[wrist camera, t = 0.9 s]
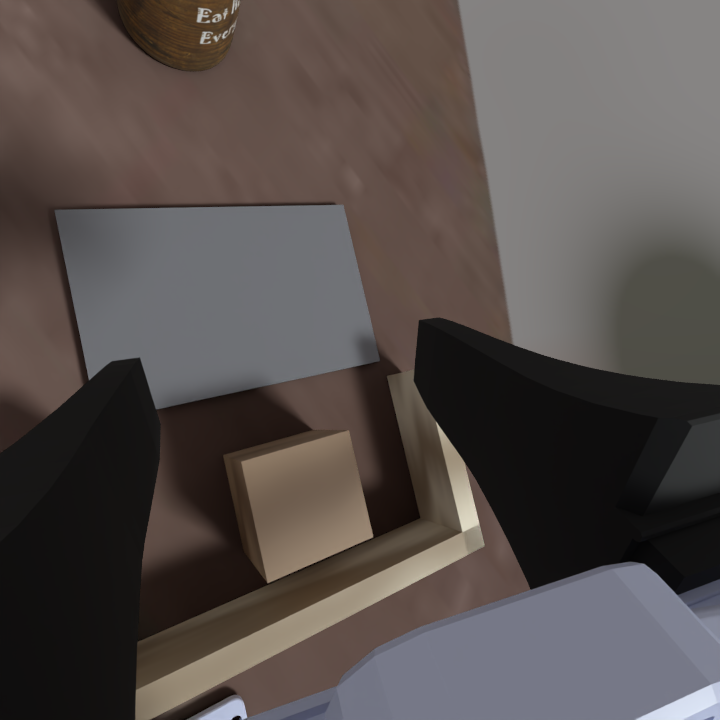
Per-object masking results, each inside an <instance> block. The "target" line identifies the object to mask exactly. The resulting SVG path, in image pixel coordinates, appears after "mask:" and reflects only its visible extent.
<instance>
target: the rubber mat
mask: <svg viewBox="0 0 720 720" xmlns="http://www.w3.org/2000/svg"><path fill="white" fill-rule="evenodd" d="M55 215H56V220H57V225H58V230H59V235H60V240H61V245H62V250H63V254H64V259H65V264H66V269H67V274H68V279H69V284H70V289H71V294H72V299H73V304H74V309H75V314H76V318H77V323H78V328H79V333H80V338H81V343H82V348H83V353H84V358H85V363H86V368H87V373H88V377H89V380H90V379H91V378H92V377H93V376H95V375H96V374H97V373H98V372H99V371H100V370H101V369H102V368H104V367H105V366H106V365H107V364H109V363H110V362H111V361H117V360H124V359H132V358H139V357H140V359H141V362H142V366H143V369H144V372H145V375H146V379H147V382H148V385H149V388H150V392H151V395H152V398H153V401H154V405H155V408H156V410H157V409H162V408H166V407H171V406H175V405H180V404H185V403H189V402H194V401H199V400H203V399H208V398H212V397H217V396H222V395H226V394H231V393H236V392H240V391H245V390H249V389H254V388H259V387H263V386H268V385H273V384H277V383H282V382H286V381H291V380H296V379H300V378H305V377H310V376H314V375H319V374H323V373H328V372H333V371H337V370H342V369H347V368H351V367H356V366H360V365H365V364H370V363H374V362H378V361H380V358H379V354H378V350H377V345H376V341H375V337H374V333H373V329H372V324H371V320H370V316H369V312H368V307H367V303H366V299H365V295H364V291H363V286H362V282H361V278H360V274H359V269H358V265H357V261H356V257H355V252H354V248H353V244H352V240H351V236H350V231H349V227H348V223H347V219H346V214H345V210H344V206H343V205H306V206H247V207H188V208H130V209H71V210H55Z"/></svg>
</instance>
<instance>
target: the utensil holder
mask: <svg viewBox="0 0 720 720" xmlns="http://www.w3.org/2000/svg"><path fill="white" fill-rule="evenodd" d="M240 2H241V0H117V5H118V9H119V13H120V16H121V19H122V21H123V24H124V26H125V28H126V29H127V31H128V33H129V34H130V36H131V37H132V38H133V40H134V41H135V42H136V43H137V44H138V45H139V46H140V47H141V48H142V49H143V50H144V51H145V52H146V53H148V54H149V55H150V56H152V57H153V58H154V59H156V60H158V61H159V62H161V63H163V64H165V65H168V66H170V67H173V68H176V69H179V70H184V71H203V70H207V69H210V68H212V67H214V66H216V65H217V64H219V63H220V62H221V61H222V60H223V59H224V57H225V56H226V54H227V52H228V50H229V48H230V45H231V42H232V39H233V35H234V31H235V26H236V21H237V17H238V12H239V7H240Z"/></svg>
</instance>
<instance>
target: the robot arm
mask: <svg viewBox="0 0 720 720" xmlns="http://www.w3.org/2000/svg"><path fill="white" fill-rule="evenodd" d="M413 381H414V383H415V385H416V387H417V389H418V391H419V394H420V396H421V398H422V400H423V402H424V403H425V405H426V407H427V409H428V410H429V412H430V413H431V415H432V416H433V418H434V419H435V421H436V422H437V424H438V425H439V427H440V428H441V429H442V431H443V432H444V434H445V435H446V437H447V438H448V439H449V441H450V442H451V444H452V445H453V446H454V448H455V449H456V451H457V452H458V453H459V455H460V456H461V458H462V459H463V461H464V462H465V463H466V465H467V466H468V468H469V469H470V471H471V473H472V474H473V476H474V477H475V479H476V481H477V482H478V484H479V486H480V488H481V490H482V492H483V493H484V495H485V497H486V499H487V501H488V502H489V504H490V506H491V508H492V510H493V512H494V514H495V516H496V518H497V520H498V522H499V524H500V526H501V527H502V529H503V531H504V533H505V535H506V537H507V539H508V541H509V543H510V546H511V548H512V550H513V552H514V554H515V556H516V558H517V560H518V563H519V565H520V567H521V569H522V571H523V573H524V575H525V577H526V580H527V582H528V584H529V587H530V589H531V590H529V591H526V592H523V593H520V594H517V595H514V596H511V597H508V598H505V599H502V600H499V601H496V602H493V603H490V604H487V605H484V606H481V607H478V608H475V609H472V610H469V611H466V612H463V613H460V614H457V615H454V616H451V617H448V618H445V619H442V620H439V621H437V622H434V623H431V624H428V625H425V626H422V627H419V628H417V629H415V630H413V631H410V632H408V633H406V634H404V635H402V636H400V637H398V638H396V639H394V640H392V641H389V642H387V643H385V644H383V645H381V646H379V647H377V648H375V649H374V650H373V651H371V652H370V653H369V654H368V655H367V656H365V657H364V658H363V659H362V660H361V661H359V662H358V663H357V664H356V665H355V666H353V667H352V668H351V669H350V670H349V671H347V672H346V673H345V674H344V675H343V676H342V678H341V680H340V682H339V684H338V686H336V687H333V688H330V689H327V690H325V691H322V692H319V693H316V694H313V695H310V696H308V697H305V698H302V699H299V700H296V701H294V702H291V703H288V704H285V705H282V706H279V707H277V708H274V709H271V710H268V711H265V712H262V713H260V714H257V715H254V716H251V717H248V718H247V715H246V710H245V706H244V702H243V700H242V698H241V697H240V696H239V695H232V696H230V697H228V698H226V699H224V700H222V701H220V702H218V703H217V704H215V705H213V706H211V707H209V708H207V709H205V710H204V711H202V712H200V713H198V714H196V715H194V716H192V717H191V718H189V719H187V720H232V718H233V717H235V716H237V715H238V716H240V718H239V720H720V385H712V384H698V383H684V382H675V381H667V380H659V379H650V378H643V377H636V376H631V375H624V374H619V373H614V372H608V371H603V370H598V369H593V368H589V367H585V366H580V365H577V364H573V363H569V362H565V361H562V360H557V359H554V358H551V357H547V356H544V355H541V354H538V353H535V352H532V351H529V350H526V349H523V348H520V347H517V346H515V345H512V344H509V343H507V342H504V341H501V340H499V339H496V338H494V337H491V336H489V335H486V334H484V333H481V332H479V331H476V330H474V329H471V328H469V327H466V326H463V325H461V324H458V323H455V322H453V321H450V320H446V319H443V318H432V319H425V320H419V326H418V337H417V348H416V358H415V369H414V380H413ZM160 425H161V424H160V421H159V418H158V414H157V411H156V408H155V405H154V401H153V398H152V395H151V392H150V388H149V385H148V382H147V379H146V375H145V372H144V369H143V366H142V362H141V359H140V357H139V358H132V359H124V360H117V361H111V362H110V363H109V364H107V365H106V366H105V367H104V368H102V369H101V370H100V371H99V372H98V373H97V374H96V375H95V376H93V377H92V378H91V379H90V380H89V381H88V382H87V383H86V384H85V385H84V386H83V387H81V388H80V389H79V390H78V391H77V392H76V393H75V394H74V395H72V396H71V397H70V398H69V399H68V400H67V401H66V402H65V403H63V404H62V405H61V406H60V407H59V408H58V409H57V410H55V411H54V412H53V413H52V414H50V415H49V416H48V417H47V418H46V419H44V420H43V421H42V422H41V423H39V424H38V425H37V426H36V427H34V428H33V429H32V430H31V431H29V432H28V433H27V434H26V435H25V436H23V437H22V438H21V439H19V440H18V441H17V442H15V443H14V444H13V445H11V446H10V447H9V448H7V449H6V450H4V451H3V452H2V453H0V720H135V706H136V670H137V641H138V620H139V600H140V585H141V570H142V558H143V551H144V543H145V537H146V532H147V526H148V521H149V516H150V510H151V505H152V499H153V494H154V488H155V483H156V477H157V471H158V466H159V460H160Z"/></svg>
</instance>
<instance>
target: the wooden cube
mask: <svg viewBox="0 0 720 720" xmlns="http://www.w3.org/2000/svg"><path fill="white" fill-rule="evenodd" d="M223 458H224V462H225V467H226V472H227V476H228V481H229V486H230V490H231V495H232V499H233V504H234V509H235V513H236V518H237V522H238V527H239V532H240V536H241V541H242V546H243V550H244V553H245V554H246V555H247V557H248V558H249V559H250V561H251V562H252V563H253V565H254V566H255V567H256V569H257V570H258V571H259V573H260V574H261V575H262V577H263V578H264V579H265V580H266V582H267V583H270V582H272V581H274V580H277V579H279V578H281V577H283V576H286V575H288V574H290V573H293V572H295V571H297V570H299V569H302V568H304V567H306V566H309V565H311V564H313V563H315V562H318V561H320V560H322V559H325V558H327V557H329V556H331V555H334V554H336V553H338V552H341V551H343V550H345V549H347V548H350V547H352V546H354V545H357V544H359V543H361V542H363V541H366V540H368V539H370V538H373V533H372V529H371V524H370V520H369V516H368V511H367V507H366V503H365V498H364V494H363V490H362V485H361V481H360V477H359V472H358V468H357V464H356V459H355V455H354V451H353V446H352V442H351V438H350V433H349V430H311V431H307V432H304V433H300V434H297V435H293V436H289V437H286V438H282V439H279V440H275V441H272V442H268V443H264V444H261V445H257V446H254V447H250V448H246V449H243V450H239V451H236V452H232V453H229V454H225V455H223Z"/></svg>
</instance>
